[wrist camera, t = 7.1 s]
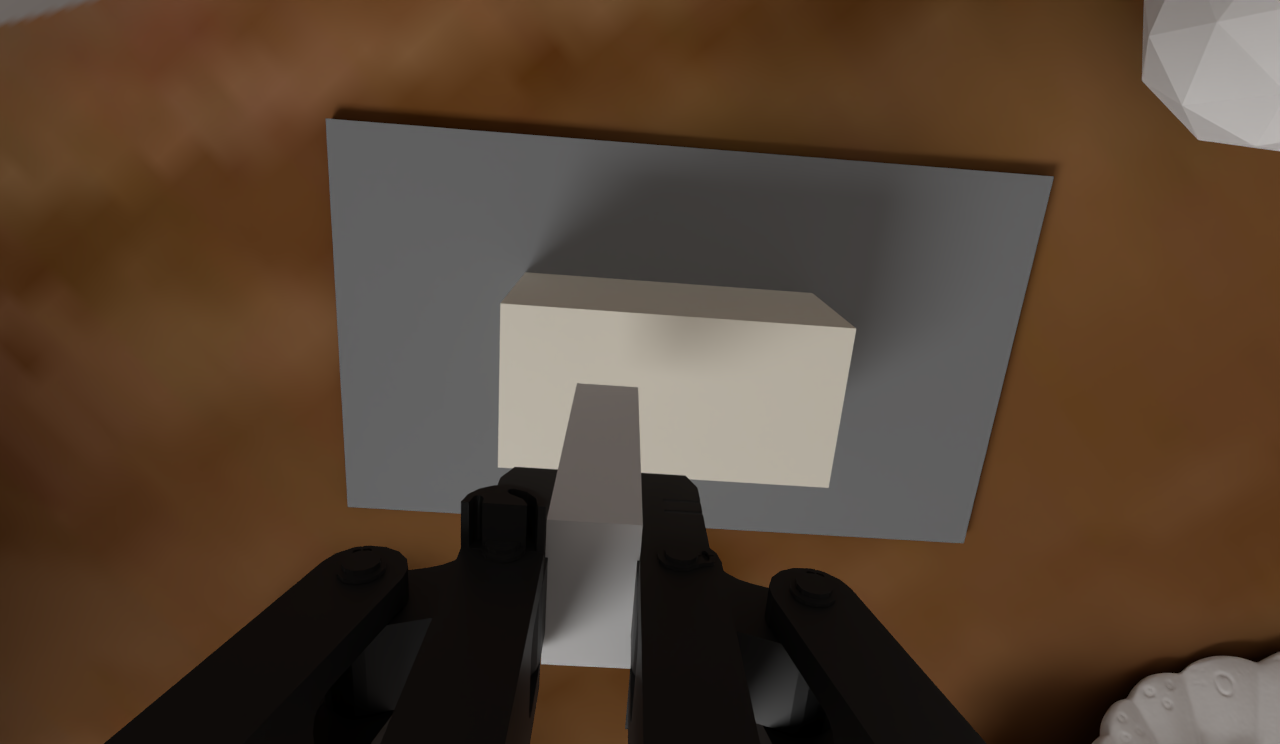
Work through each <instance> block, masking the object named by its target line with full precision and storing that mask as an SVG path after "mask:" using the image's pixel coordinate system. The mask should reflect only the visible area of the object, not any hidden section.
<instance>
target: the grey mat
mask: <svg viewBox="0 0 1280 744" xmlns="http://www.w3.org/2000/svg"><path fill="white" fill-rule="evenodd" d="M326 133H327V150H328V168H329V186H330V203H331V221H332V238H333V256H334V273H335V291H336V308H337V326H338V343H339V361H340V379H341V396H342V414H343V431H344V449H345V466H346V484H347V501H348V507H359V508H376V509H392V510H409V511H426V512H443V513H460V514H461V501H462V500H463V499H464V498H465V497H466V495H467V494H469V493H471V492H473V491H475V490H477V489H479V488H484V487H488V486H493V485H498V482H499V480H500V477H502V476H503V475H504V474H506V473H507V472H509V471H510V470H511V469H513V468H498V423H499V359H500V303H501V302H502V301H503V300H504V298H505V297H506V296H507V295H508V293H509V292H510V291H511V290H512V288H513V287H514V286H515V285H516V283H517V282H518V281H519V280H520V278H521V277H522V276H523V275H524V273H525V272H529V273H543V274H557V275H570V276H584V277H598V278H612V279H626V280H639V281H653V282H667V283H681V284H695V285H709V286H722V287H736V288H750V289H764V290H778V291H792V292H805V293H813V294H814V295H815V296H817V297H818V298H819V299H820V300H822V301H823V302H824V303H825V304H827V305H828V306H829V307H830V308H832V309H833V310H834V311H835V312H837V313H838V314H839V315H840V316H841V317H843V318H844V319H845V320H846V321H848V322H849V323H850V324H851V325H853V326H854V327H855V328H856V334H855V339H854V345H853V351H852V357H851V362H850V368H849V374H848V379H847V385H846V391H845V397H844V402H843V408H842V414H841V420H840V425H839V431H838V437H837V442H836V448H835V454H834V460H833V465H832V471H831V477H830V482H829V488H822V487H806V486H790V485H773V484H757V483H741V482H725V481H709V480H692V479H689V480H690V481H691V482H692V483H693V484H694V485H695V486H696V487H697V488H698V492H699V497H700V504H701V507H702V515H703V517H704V522H705V528H714V529H731V530H748V531H765V532H782V533H799V534H816V535H833V536H849V537H866V538H883V539H900V540H917V541H934V542H951V543H964V540H965V536H966V532H967V528H968V524H969V519H970V515H971V511H972V507H973V503H974V499H975V495H976V491H977V487H978V483H979V479H980V475H981V471H982V467H983V463H984V459H985V455H986V450H987V446H988V442H989V438H990V434H991V430H992V426H993V422H994V418H995V414H996V410H997V406H998V402H999V398H1000V394H1001V390H1002V385H1003V381H1004V377H1005V373H1006V369H1007V365H1008V361H1009V357H1010V353H1011V349H1012V345H1013V341H1014V337H1015V333H1016V329H1017V325H1018V321H1019V316H1020V312H1021V308H1022V304H1023V300H1024V296H1025V292H1026V288H1027V284H1028V280H1029V276H1030V272H1031V268H1032V264H1033V260H1034V256H1035V252H1036V247H1037V243H1038V239H1039V235H1040V231H1041V227H1042V223H1043V219H1044V215H1045V211H1046V207H1047V203H1048V199H1049V195H1050V191H1051V187H1052V183H1053V178H1054V177H1053V176H1041V175H1028V174H1016V173H1003V172H990V171H978V170H965V169H953V168H940V167H928V166H915V165H903V164H890V163H878V162H865V161H852V160H840V159H827V158H815V157H802V156H790V155H777V154H765V153H752V152H740V151H727V150H715V149H702V148H689V147H677V146H664V145H652V144H639V143H627V142H614V141H602V140H589V139H577V138H564V137H551V136H539V135H526V134H514V133H501V132H489V131H476V130H464V129H451V128H439V127H426V126H414V125H401V124H388V123H376V122H363V121H351V120H338V119H326Z"/></svg>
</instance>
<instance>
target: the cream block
mask: <svg viewBox="0 0 1280 744" xmlns="http://www.w3.org/2000/svg"><path fill="white" fill-rule="evenodd" d="M855 334H856V328H855V327H854V326H853V325H851V324H850V323H849V322H848V321H846V320H845V319H844V318H843V317H841V316H840V315H839V314H838V313H837V312H835V311H834V310H833V309H832V308H830V307H829V306H828V305H827V304H825V303H824V302H823V301H822V300H820V299H819V298H818V297H817V296H815V295H814V294H813V293H805V292H792V291H778V290H764V289H750V288H736V287H722V286H709V285H695V284H681V283H667V282H653V281H639V280H626V279H612V278H598V277H584V276H570V275H557V274H543V273H529V272H525V273H524V275H523V276H522V277H521V278H520V280H519V281H518V282H517V283H516V285H515V286H514V287H513V288H512V290H511V291H510V292H509V293H508V295H507V296H506V297H505V298H504V300H503V301H502V302H501V303H500V359H499V423H498V468H514V467H527V468H543V469H558V466H559V462H560V457H561V453H562V448H563V444H564V439H565V435H566V430H567V426H568V421H569V417H570V412H571V408H572V403H573V399H574V394H575V390H576V385H577V383H582V384H597V385H612V386H627V387H638V397H639V427H640V457H641V473H653V474H669V475H685V476H686V477H687V478H688V479H692V480H709V481H725V482H741V483H757V484H773V485H790V486H806V487H822V488H829V482H830V477H831V471H832V465H833V460H834V454H835V448H836V442H837V437H838V431H839V425H840V420H841V414H842V408H843V402H844V397H845V391H846V385H847V379H848V374H849V368H850V362H851V357H852V351H853V345H854V339H855Z"/></svg>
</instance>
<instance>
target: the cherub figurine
mask: <svg viewBox="0 0 1280 744" xmlns="http://www.w3.org/2000/svg"><path fill="white" fill-rule="evenodd" d="M1092 744H1280V652H1277V653H1275V654H1272V655H1270V656H1268V657H1267V658H1265V659H1263V660H1261V661H1259V662H1253V661H1250V660H1247V659H1244V658H1240V657H1234V656H1211V657H1207V658H1203V659H1200V660H1197V661H1195V662H1193V663H1191V664H1190V665H1188V666H1187V667H1186V668H1185V669H1184V670H1182V671H1181V672H1180V673H1158V674H1153V675H1150V676H1147V677H1145V678H1143V679H1142V680H1140V681H1139V682H1138V683H1137V684H1136V685H1135V686H1134V688H1133V689H1132V690H1131V692H1130V693H1129V695H1128V697H1127V698H1126V699H1122V700H1119V701H1117V702H1115V703H1114V704H1112V705H1111V706H1110V708H1109V709H1108V710H1107V712H1106V713H1105V715H1104V717H1103V719H1102V722H1101V725H1100V736H1099V737H1098V738H1097V739H1096V740H1095V741H1094V742H1093V743H1092Z"/></svg>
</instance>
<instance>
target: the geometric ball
mask: <svg viewBox="0 0 1280 744" xmlns="http://www.w3.org/2000/svg"><path fill="white" fill-rule="evenodd" d="M1142 81H1143V82H1144V83H1145V84H1146V86H1147V87H1148V88H1149V89H1150V90H1151V91H1152V92H1153V93H1154V94H1155V95H1156V96H1157V97H1158V98H1159V99H1160V100H1161V101H1162V102H1163V103H1164V104H1165V105H1166V107H1167V108H1168V109H1169V110H1170V111H1171V112H1172V113H1173V114H1174V115H1175V116H1176V117H1177V118H1178V119H1179V120H1180V121H1181V122H1182V123H1183V124H1184V125H1185V126H1186V128H1187V129H1188V130H1189V131H1190V132H1191V133H1192V134H1193V135H1194V136H1195V137H1196V138H1197V139H1198V140H1202V141H1209V142H1216V143H1224V144H1231V145H1238V146H1245V147H1252V148H1260V149H1267V150H1274V151H1280V0H1144V15H1143V53H1142Z"/></svg>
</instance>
